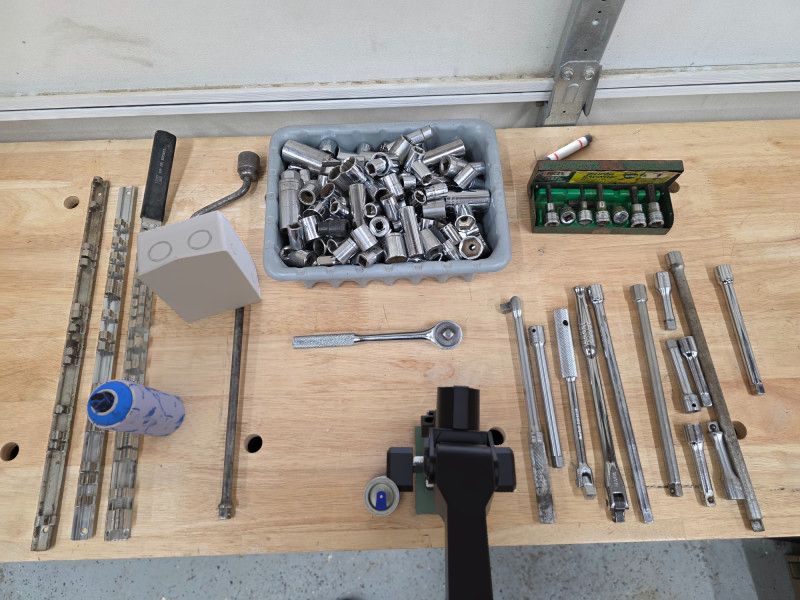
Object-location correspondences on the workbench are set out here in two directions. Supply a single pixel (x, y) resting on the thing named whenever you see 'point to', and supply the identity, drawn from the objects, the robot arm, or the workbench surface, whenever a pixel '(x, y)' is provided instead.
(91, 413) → the aerosol can
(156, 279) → the electrical switch box
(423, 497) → the press block
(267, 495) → the workbench surface
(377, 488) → the beverage can
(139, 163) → the workbench surface
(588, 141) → the marker
